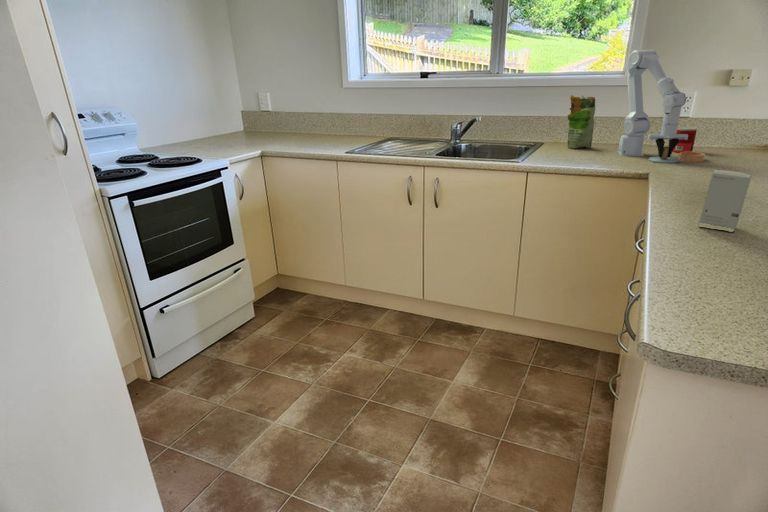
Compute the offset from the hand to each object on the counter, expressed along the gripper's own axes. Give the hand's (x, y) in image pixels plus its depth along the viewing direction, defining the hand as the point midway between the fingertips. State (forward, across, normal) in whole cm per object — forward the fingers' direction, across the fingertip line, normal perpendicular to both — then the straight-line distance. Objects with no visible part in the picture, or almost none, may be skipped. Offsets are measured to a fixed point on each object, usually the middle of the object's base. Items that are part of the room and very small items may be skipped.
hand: (664, 156), depth 204 cm
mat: (+2, 0, 0) cm, 2 cm away
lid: (+2, 0, 0) cm, 2 cm away
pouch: (+2, -30, +32) cm, 44 cm away
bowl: (+2, +11, +2) cm, 11 cm away
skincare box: (+2, -10, -87) cm, 88 cm away
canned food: (+2, +13, +20) cm, 24 cm away
